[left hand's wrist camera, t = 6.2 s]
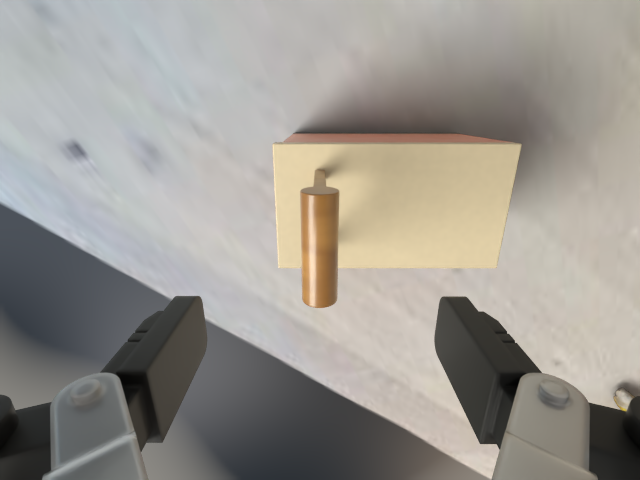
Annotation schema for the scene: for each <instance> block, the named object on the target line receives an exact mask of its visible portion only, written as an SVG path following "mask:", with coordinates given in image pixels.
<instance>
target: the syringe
mask: <svg viewBox="0 0 640 480" xmlns="http://www.w3.org/2000/svg"><path fill="white" fill-rule="evenodd" d="M615 394H616V396H614V401H615V402H616V404H617V406H618V407H619V408H620V409H621V410H622V411H627V408H628V406H629V404H630V401H631V400H632V399H633V398H635V396H633V395H632V394H630V393H629V392H627V391H626V390H625V389H624V388H619V389H618V390H617V391H616V393H615Z"/></svg>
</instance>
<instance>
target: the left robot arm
mask: <svg viewBox="0 0 640 480" xmlns="http://www.w3.org/2000/svg"><path fill="white" fill-rule="evenodd" d="M206 347H207V332H206V324H205V317H204V310H203V303H202V299H201V297H200V296H176V297H174V299H173V300H172V301H171V302H170V304H169V305H168V306H167V307H166V309H165V310H164V311H158V312H156V313H155V314H153V315H152V316H150V317H149V318H147V319H145V320H144V321H143V322H142V324H141V325H140V326H139V327H138V328H137V330H136V331H135V333H133V334H132V335H131V337H130V338H129V339H128V342H126V343H125V344H124V345H123V346H122V347H121V348H120V350H119V351H118V352H117V353H116V354H115V356H114V357H113V358H112V359H111V360H110V361H109V363H108V364H107V365H106V366H105V368H104V369H103V370H102V371H101V372H100V373H96V374H92V375H88V376H85V377H83V378H80V379H78V380H76V381H74V382H72V383H71V384H69V385H68V386H66V387H65V388H64V389H62V390H61V391H60V392H59V393H58V394H57V395H56V396H55V398H54V399H53V401H52V402H50V403H46V404H41V405H37V406H32V407H28V408H24V409H20V410H15V408H14V406H13V404H12V401H11V399H10V398H9V397H7V396H4V395H0V480H148V477H147V473H146V469H145V466H144V462H143V459H142V455H141V451H142V449H143V447H144V446H145V444H146V443H162V442H163V440H164V438H165V436H166V434H167V432H168V430H169V428H170V425H171V423H172V421H173V419H174V417H175V415H176V413H177V411H178V409H179V407H180V405H181V403H182V400H183V398H184V396H185V394H186V392H187V390H188V388H189V386H190V384H191V382H192V380H193V377H194V375H195V373H196V371H197V369H198V367H199V365H200V363H201V361H202V359H203V356H204V354H205V351H206ZM435 349H436V353H437V355H438V358H439V360H440V362H441V364H442V366H443V368H444V370H445V372H446V374H447V376H448V378H449V380H450V382H451V385H452V387H453V389H454V391H455V393H456V395H457V397H458V399H459V401H460V403H461V405H462V407H463V409H464V412H465V414H466V416H467V418H468V420H469V422H470V424H471V426H472V428H473V430H474V432H475V434H476V436H477V438H478V441H479V443H480V444H497V445H498V447H499V449H500V451H499V455H498V458H497V462H496V466H495V469H494V473H493V476H492V480H640V396H638V397H635V398H633V399H632V400H631V401H630V404H629V406H628V408H627V411H622V410H618V409H614V408H609V407H605V406H601V405H596V404H592V403H589V402H588V401H587V399H586V398H585V396H584V395H583V394H582V393H581V392H580V391H579V390H578V389H577V388H575V387H574V386H572V385H571V384H569V383H568V382H566V381H564V380H562V379H560V378H557V377H555V376H552V375H548V374H544V373H542V372H541V371H540V370H539V369H538V367H537V366H536V365H535V364H534V363H533V362H532V360H531V359H530V358H529V357H528V356H527V355H526V353H525V352H524V351H523V350H522V349H521V348H520V346H519V345H518V344H517V343H515V340H514V339H513V338H512V337H511V336H510V335H509V334H507V331H506V330H505V329H504V328H503V326H502V325H501V324H500V323H499V322H498V321H497V320H496V319H494V318H493V317H491V316H490V315H488V314H486V313H485V312H478V310H477V309H476V308H475V307H474V305H473V304H472V303H471V302H470V300H469V299H468V298H467V297H442V298H441V299H440V303H439V309H438V316H437V323H436V330H435Z"/></svg>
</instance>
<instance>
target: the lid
mask: <svg viewBox="0 0 640 480" xmlns="http://www.w3.org/2000/svg"><path fill="white" fill-rule="evenodd" d="M521 146H522V144H520V143H514V142H275V143H274V144H273V164H274V185H275V206H276V226H277V247H278V267H279V268H302V300H303V302H304V303H305V304H306V305H308V306H311V307H315V308H324V307H329V306H331V305H333V304H334V303H335V302H336V301H337V285H338V268H497V263H498V259H499V254H500V249H501V244H502V239H503V234H504V229H505V224H506V219H507V215H508V210H509V205H510V200H511V195H512V190H513V185H514V180H515V175H516V171H517V166H518V161H519V156H520V151H521Z"/></svg>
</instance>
